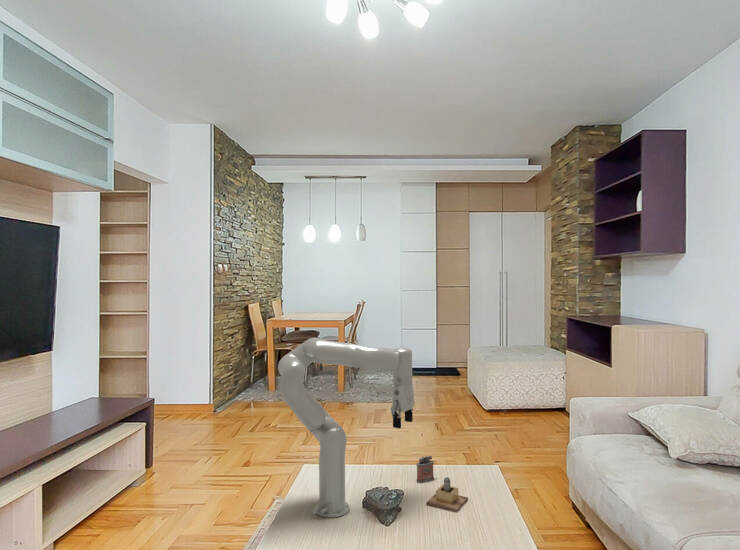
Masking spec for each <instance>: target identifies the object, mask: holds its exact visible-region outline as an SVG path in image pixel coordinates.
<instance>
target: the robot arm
mask: <svg viewBox="0 0 740 550" xmlns="http://www.w3.org/2000/svg"><path fill="white" fill-rule="evenodd" d="M312 363H318V364H324V365H325V364H327V365H335V366H336V365H337V366H343V367H344V366H345V367H351V368H359V369H366V370H372V371H373V370H374V371H381V372H382V371H383V372H392V385H393V386H392V387H393V388H392V402H391V403H392V404H391V406H390V411H391V418H392V427H393V429H394V428H395V429H401V428H402V417H401V415H402V413H404V422H407V423H412V422H413V417H414V416H413V411H414V407H415V395H414V394H415V393H414V392H415V391H414V387H413V386H414V385H413V351H412V349H410V348H407V347H397V348H386V347H380V348H369V347H366V346H361V345H359V344H356V343H350V342H342V341H334V340H327V339H321V338H318V337H311V338H308V339H306V340H305V341H303V342H302V343H301V344H299V345H298V346H297V347H295V348H294V349H292V350H291V351H289V352H288V353H286V354H285V355H284V356H283V357H281V359H280V360H279V362H278V364H277V369H278V372H279V375H280V380H279V384H278V385H279V394H280V397H281V398H282V400H283V401H284V403H286V405H287V406H288V407H289V408H290V409H291V411H292V412H293V413H294V414H295V416H296V417H297V419H298V420H299V421H300V423H301V424H302V425H303V426H304V427H306V429H307V430H308V431H309V432H310V433H311V435H312V436H314V437H315V439H316V440H317V442H319V456H318V476H319V477H318V485H319V486H318V491H319V492H318V494H319V495H318V498H319V499H318V501H317V504H316V505H315V506H314V508H312V509H311V513H312V514H313V515H316V514H317V515H318V516H319V517H323V518H330V519H331V518H332V519H333V518H339V517H343V516H345V515H346V514H348V513H349V511H350V504H349V503H348V502H347V501H346V450H347V433H346V432H345V430H344V428H343V426H341V425H340V424H339V423H338V422H337V421H336V420H335V419H334V418H333V417H332V416H331V415H330V414H329V413H328V411H327V410H326V409H325V408H324V406H323V405H322V404H321V403H320V402H319V401H318V400H317V399H315V398H314V397H313V396H312V394H311V393H310V392H309V391H308V390H307V389H306V388H307V387H305V385H304V378H305V375H306V368H307V367H308V366H310V365H311V364H312Z"/></svg>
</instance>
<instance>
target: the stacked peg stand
mask: <svg viewBox="0 0 740 550" xmlns="http://www.w3.org/2000/svg"><path fill="white" fill-rule="evenodd" d="M443 485H444V491H446V492H450V486H451V479H450V477H444V478H443ZM468 501H469V496H463V495H460V494H458V500H457V501H456V502H455V503H454V504H453V505H449V504H445V503H441V502H437V501H436V493H434V494H433V495H432V497H430V498H429V499H428V500H427V501H426V502H425V503H426V504H425V506H427V507H428V506H429V507H432V508H436V509H441V510H445V511H448V512H452V513H458V512H459V511H460V510H461V509H462V508H463V506H464V505H465V504H466V503H467V502H468Z"/></svg>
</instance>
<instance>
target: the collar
mask: <svg viewBox="0 0 740 550" xmlns="http://www.w3.org/2000/svg"><path fill="white" fill-rule="evenodd" d="M435 494H436V501H437V502H441V503H445V504H449V505H453V504H454V503H455V502H456V501H457V500H458V495H459V488H458V487H455V486H452V485H450V492H446V491H444V484H441V485H440V486H439V487H438V488H437V489H436V490H435Z"/></svg>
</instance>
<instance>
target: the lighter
mask: <svg viewBox="0 0 740 550" xmlns="http://www.w3.org/2000/svg"><path fill="white" fill-rule="evenodd" d="M432 459H433V456H432V455H427V456H421V457H419V458H418V462H417V463H416V483H418V484H425V483H429V482H432V481H434V480H435V477H434V461H433V460H432Z"/></svg>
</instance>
